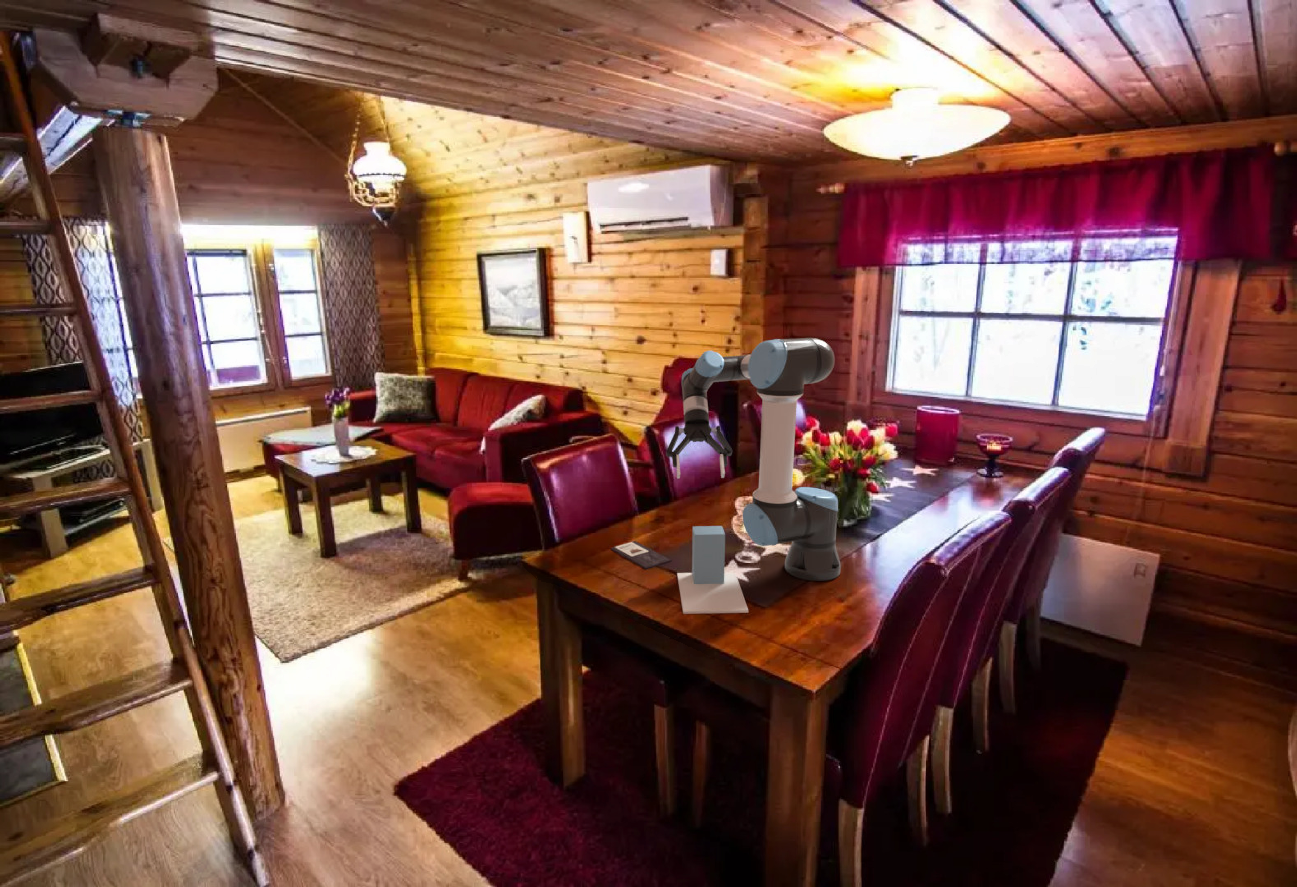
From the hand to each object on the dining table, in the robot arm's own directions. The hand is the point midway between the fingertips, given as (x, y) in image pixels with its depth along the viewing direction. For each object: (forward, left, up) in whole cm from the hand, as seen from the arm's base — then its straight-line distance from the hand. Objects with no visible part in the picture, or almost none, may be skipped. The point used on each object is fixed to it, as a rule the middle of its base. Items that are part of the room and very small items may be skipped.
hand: (700, 476), depth 197 cm
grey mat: (0, +27, -23) cm, 36 cm away
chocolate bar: (+18, +2, -24) cm, 30 cm away
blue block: (0, +20, -23) cm, 31 cm away
